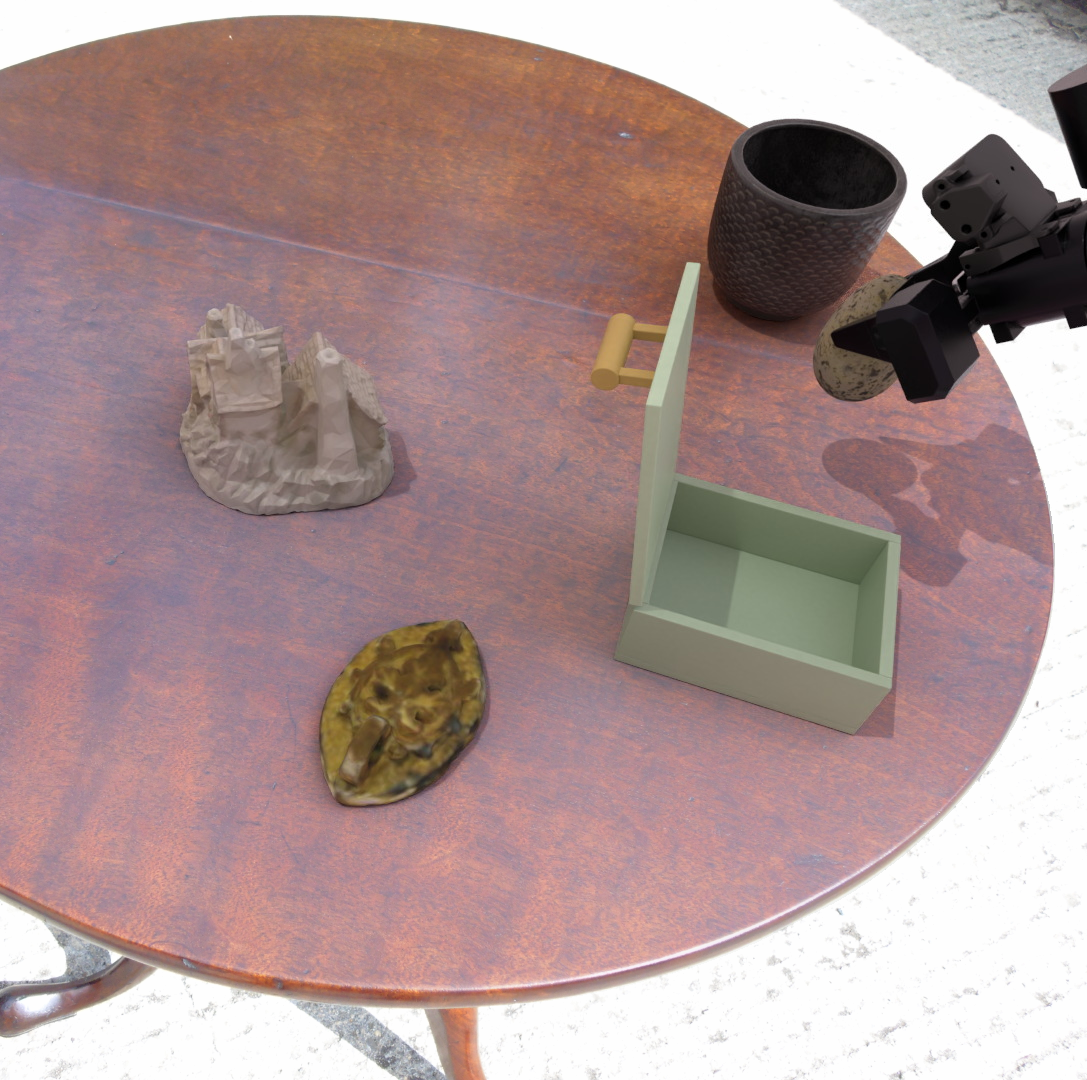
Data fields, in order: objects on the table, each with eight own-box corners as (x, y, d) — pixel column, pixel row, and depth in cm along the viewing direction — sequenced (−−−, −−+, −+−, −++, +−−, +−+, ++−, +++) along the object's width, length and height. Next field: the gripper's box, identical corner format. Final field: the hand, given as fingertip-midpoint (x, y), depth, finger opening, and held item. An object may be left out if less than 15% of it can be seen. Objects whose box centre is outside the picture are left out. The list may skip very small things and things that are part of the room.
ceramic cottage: (396, 515, 78) (400, 349, 66) (170, 519, 78) (136, 353, 66) (390, 378, 88) (392, 215, 77) (191, 381, 88) (164, 218, 77)
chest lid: (700, 262, 61) (623, 255, 63) (661, 406, 54) (574, 394, 55) (676, 466, 73) (612, 456, 75) (641, 606, 66) (570, 593, 67)
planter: (879, 318, 94) (947, 189, 84) (757, 363, 90) (812, 233, 80) (774, 230, 101) (825, 102, 91) (656, 269, 97) (696, 139, 87)
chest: (866, 586, 75) (901, 535, 71) (853, 735, 68) (892, 689, 63) (648, 523, 78) (668, 470, 74) (613, 659, 71) (633, 609, 66)
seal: (394, 608, 74) (280, 780, 66) (391, 564, 71) (271, 739, 62) (519, 657, 71) (416, 845, 62) (522, 613, 67) (414, 806, 59)
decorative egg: (784, 369, 78) (834, 255, 71) (859, 359, 79) (916, 246, 71) (821, 426, 75) (878, 312, 67) (899, 415, 76) (964, 302, 68)
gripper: (1127, 64, 62) (877, 159, 75) (988, 189, 53) (733, 271, 67) (1183, 238, 65) (933, 300, 78) (1060, 384, 56) (802, 425, 69)
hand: (855, 319), depth 73 cm, fingers closed on decorative egg, 5 cm apart
